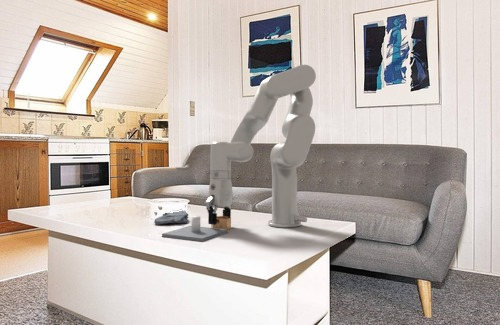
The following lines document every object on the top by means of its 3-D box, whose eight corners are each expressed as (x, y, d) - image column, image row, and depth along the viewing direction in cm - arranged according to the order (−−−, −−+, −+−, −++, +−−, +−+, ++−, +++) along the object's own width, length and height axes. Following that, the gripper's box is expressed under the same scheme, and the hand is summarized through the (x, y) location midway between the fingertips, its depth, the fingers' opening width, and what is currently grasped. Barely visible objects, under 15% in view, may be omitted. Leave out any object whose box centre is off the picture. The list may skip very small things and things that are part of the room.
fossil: (152, 227, 152) (152, 216, 152) (159, 218, 170) (159, 209, 170) (186, 226, 154) (186, 216, 153) (189, 218, 171) (189, 208, 171)
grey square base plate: (228, 232, 140) (228, 215, 140) (202, 241, 126) (202, 222, 125) (190, 228, 147) (190, 212, 147) (162, 236, 133) (161, 218, 133)
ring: (233, 227, 148) (233, 216, 148) (224, 230, 142) (224, 219, 142) (218, 226, 152) (218, 215, 152) (208, 229, 146) (208, 218, 145)
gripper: (216, 177, 137) (215, 227, 137) (240, 175, 152) (240, 220, 153) (198, 176, 141) (197, 224, 141) (223, 174, 156) (223, 218, 156)
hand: (219, 222), depth 147 cm, fingers open, 9 cm apart
